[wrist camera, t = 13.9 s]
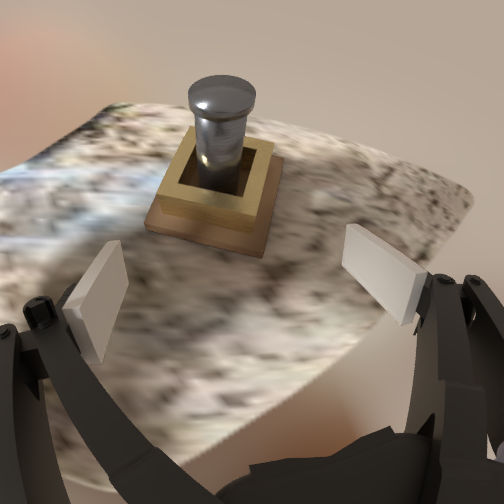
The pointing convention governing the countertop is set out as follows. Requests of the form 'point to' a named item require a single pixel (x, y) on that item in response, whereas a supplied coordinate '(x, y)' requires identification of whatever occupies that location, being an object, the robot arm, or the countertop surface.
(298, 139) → the countertop surface
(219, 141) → the pin
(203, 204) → the square socket frame
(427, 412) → the robot arm
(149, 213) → the socket base
